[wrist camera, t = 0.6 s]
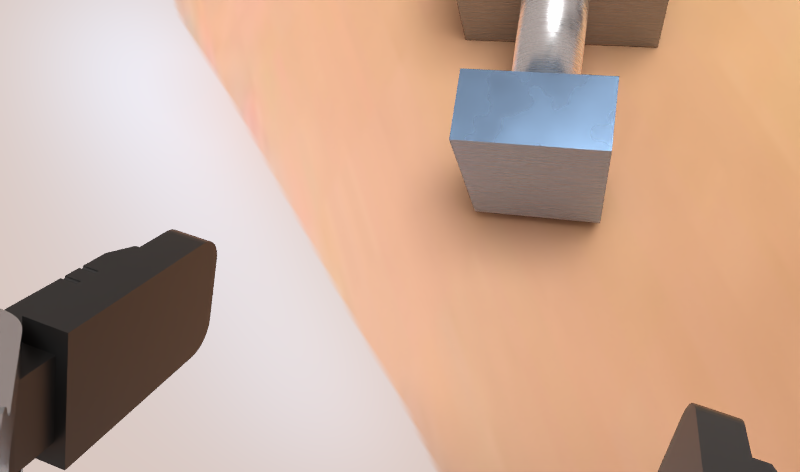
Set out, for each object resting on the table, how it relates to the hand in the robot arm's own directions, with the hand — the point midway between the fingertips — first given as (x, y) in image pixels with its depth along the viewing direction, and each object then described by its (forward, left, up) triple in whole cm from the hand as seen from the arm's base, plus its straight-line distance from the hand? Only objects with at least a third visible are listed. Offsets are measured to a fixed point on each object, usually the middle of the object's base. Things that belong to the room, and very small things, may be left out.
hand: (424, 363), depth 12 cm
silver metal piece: (-9, -15, -23) cm, 29 cm away
